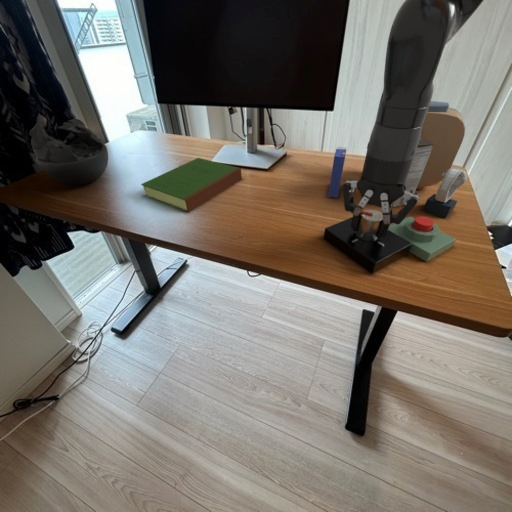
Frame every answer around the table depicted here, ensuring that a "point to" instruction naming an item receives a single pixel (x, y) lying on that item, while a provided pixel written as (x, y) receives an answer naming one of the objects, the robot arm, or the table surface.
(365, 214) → the knob
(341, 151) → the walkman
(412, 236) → the button base
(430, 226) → the button
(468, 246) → the table surface
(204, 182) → the hardcover book
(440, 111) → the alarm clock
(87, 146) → the gray filled bowl
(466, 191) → the table surface
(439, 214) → the watch
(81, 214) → the table surface
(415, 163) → the coffee box
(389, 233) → the dial panel
